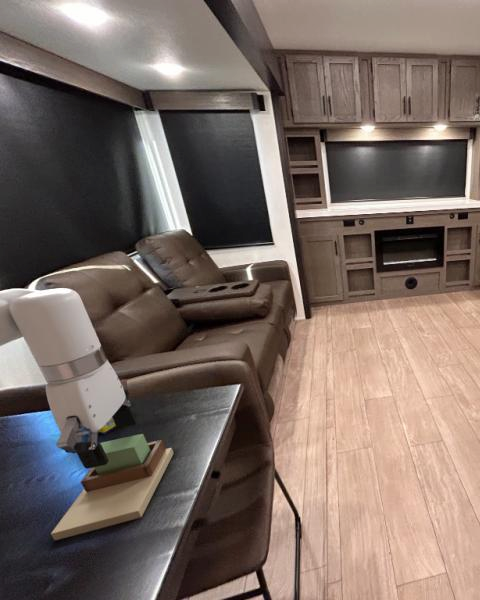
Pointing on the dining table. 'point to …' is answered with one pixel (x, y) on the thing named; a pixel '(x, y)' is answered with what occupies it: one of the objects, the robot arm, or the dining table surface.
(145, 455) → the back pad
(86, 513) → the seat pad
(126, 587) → the dining table surface
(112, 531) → the dining table surface
